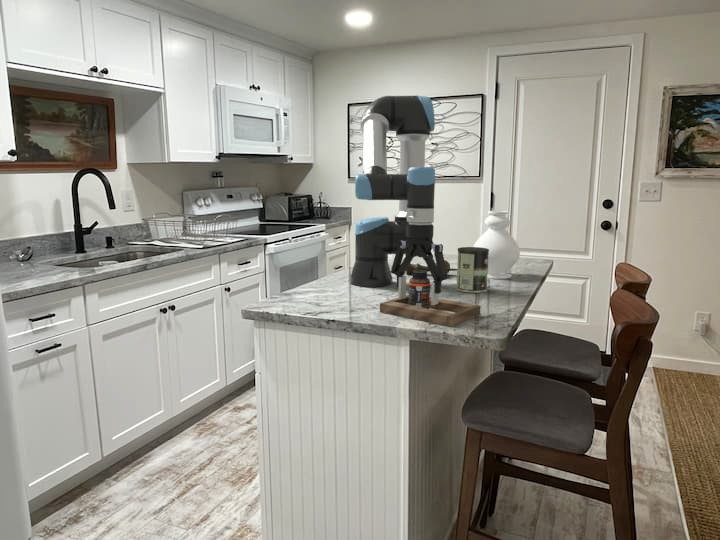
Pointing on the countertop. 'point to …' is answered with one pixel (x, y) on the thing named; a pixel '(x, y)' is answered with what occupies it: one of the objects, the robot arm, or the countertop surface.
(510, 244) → the decorative vase
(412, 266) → the kendama
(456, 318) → the brown wooden picture frame
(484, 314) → the countertop surface
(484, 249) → the coffee can
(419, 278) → the supplement bottle
